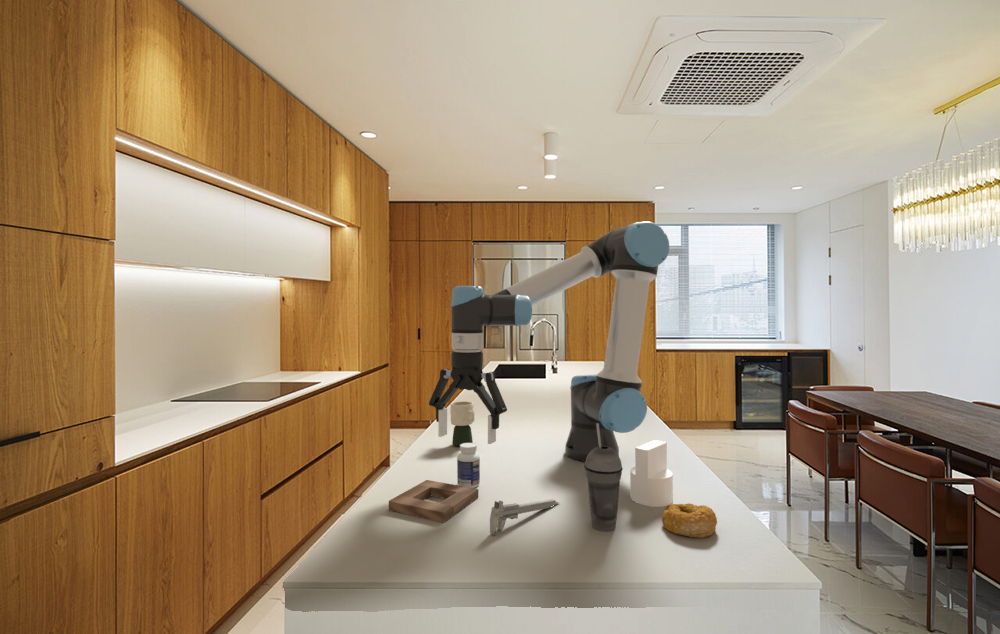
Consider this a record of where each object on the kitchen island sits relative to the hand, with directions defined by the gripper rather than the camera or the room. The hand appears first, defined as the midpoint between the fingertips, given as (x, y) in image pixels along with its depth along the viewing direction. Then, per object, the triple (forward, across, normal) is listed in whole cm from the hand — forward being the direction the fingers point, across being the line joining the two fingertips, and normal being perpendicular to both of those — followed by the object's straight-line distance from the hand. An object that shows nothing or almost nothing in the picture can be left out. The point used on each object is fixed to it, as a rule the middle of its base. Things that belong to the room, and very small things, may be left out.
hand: (466, 439), depth 119 cm
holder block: (+11, -1, -13) cm, 17 cm away
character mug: (+11, -19, +29) cm, 37 cm away
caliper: (+12, +20, -11) cm, 26 cm away
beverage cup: (+11, +35, -8) cm, 38 cm away
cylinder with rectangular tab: (+11, +41, +10) cm, 44 cm away
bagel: (+11, +50, -1) cm, 52 cm away
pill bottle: (+11, 0, 0) cm, 11 cm away
